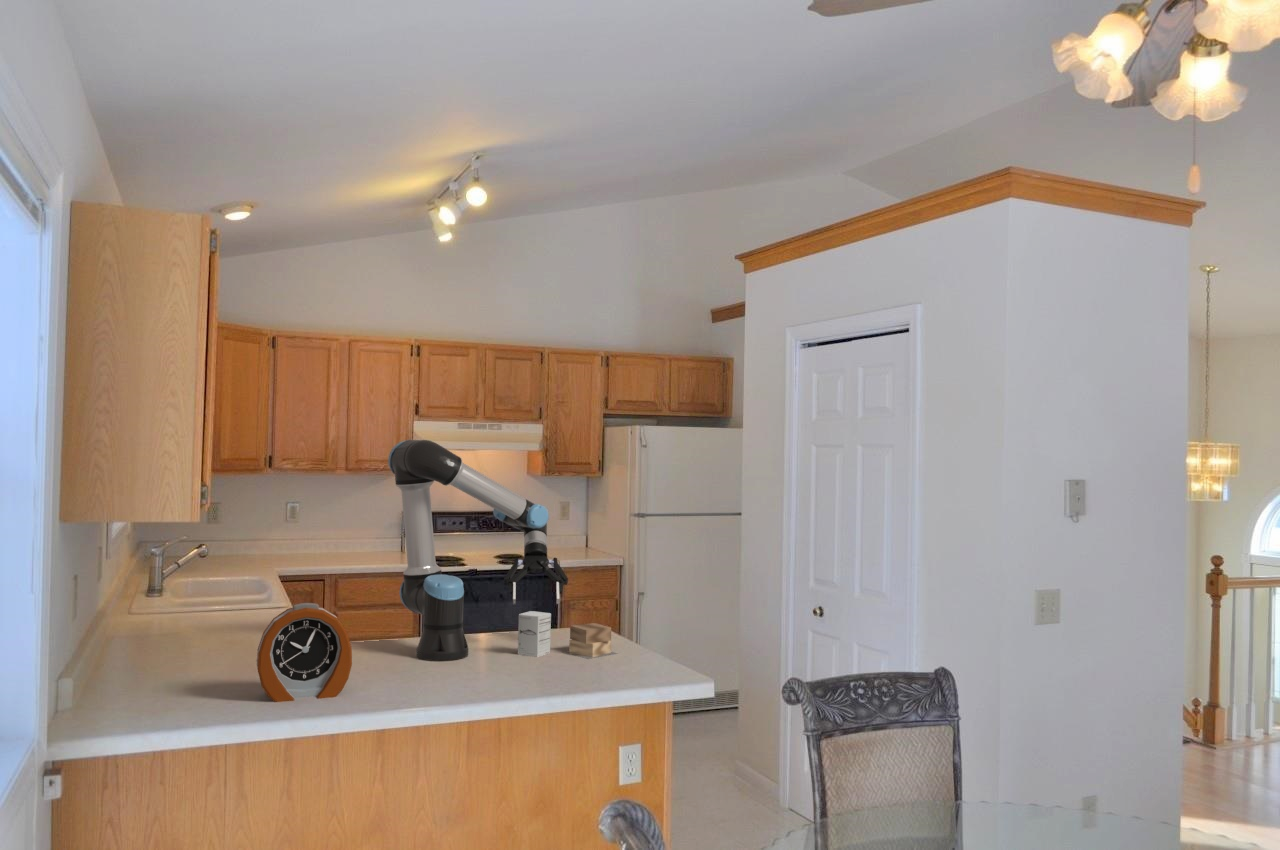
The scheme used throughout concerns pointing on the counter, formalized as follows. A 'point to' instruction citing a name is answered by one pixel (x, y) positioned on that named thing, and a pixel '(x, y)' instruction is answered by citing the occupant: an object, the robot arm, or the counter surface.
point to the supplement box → (534, 633)
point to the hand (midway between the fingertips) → (536, 601)
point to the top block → (590, 633)
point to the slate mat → (591, 657)
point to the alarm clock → (304, 654)
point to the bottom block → (589, 648)
